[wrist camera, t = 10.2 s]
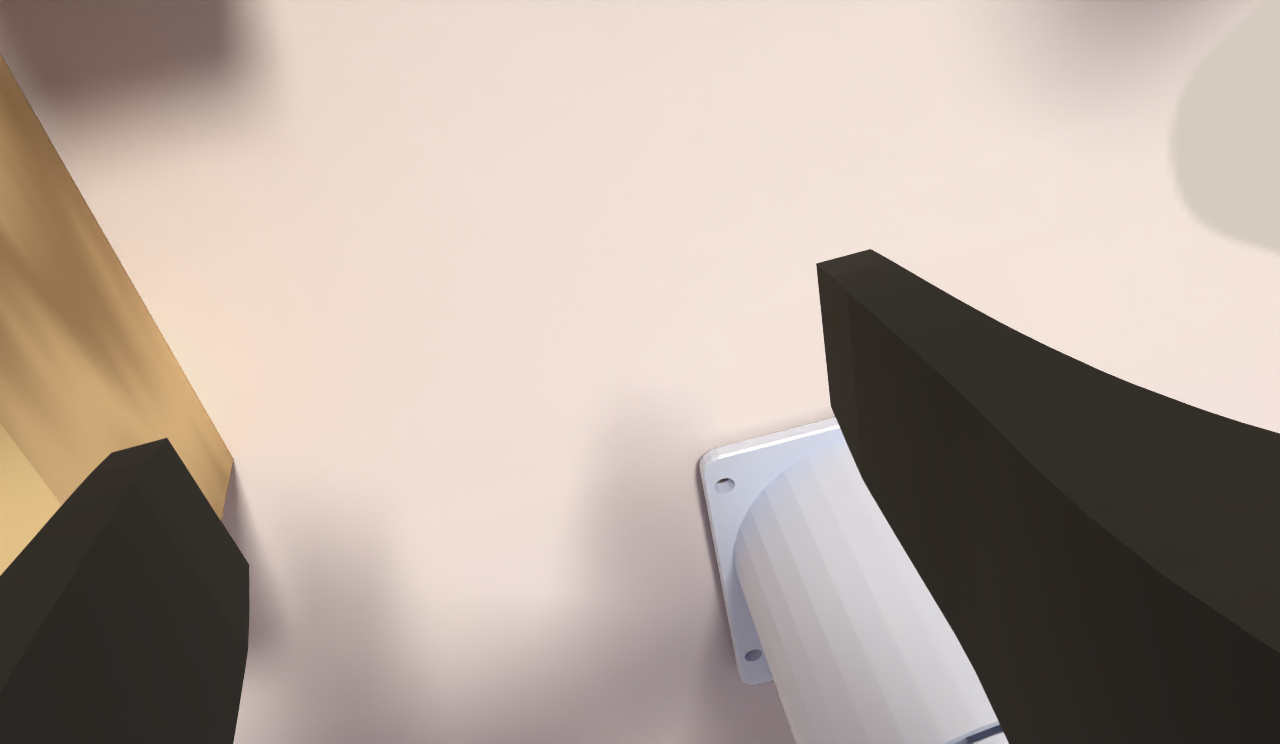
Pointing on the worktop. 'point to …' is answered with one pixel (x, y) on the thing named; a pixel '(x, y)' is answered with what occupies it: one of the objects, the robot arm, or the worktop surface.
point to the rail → (75, 345)
